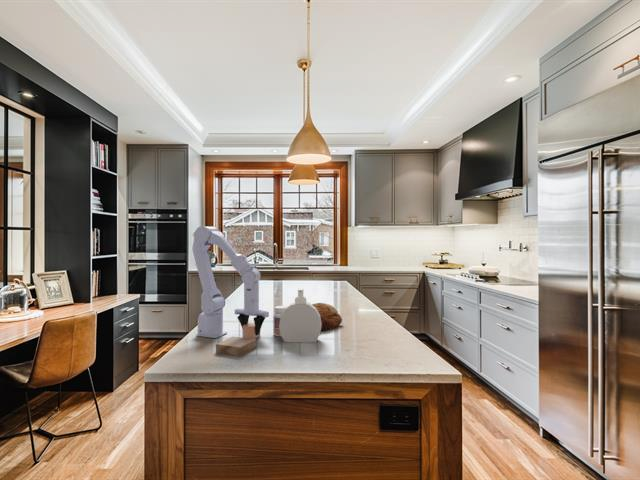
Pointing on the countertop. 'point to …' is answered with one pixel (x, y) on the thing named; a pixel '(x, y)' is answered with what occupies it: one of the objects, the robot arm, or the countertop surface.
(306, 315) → the soap bottle
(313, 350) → the countertop surface
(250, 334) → the terracotta block
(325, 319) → the bread
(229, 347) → the walnut base
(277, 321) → the pill bottle
